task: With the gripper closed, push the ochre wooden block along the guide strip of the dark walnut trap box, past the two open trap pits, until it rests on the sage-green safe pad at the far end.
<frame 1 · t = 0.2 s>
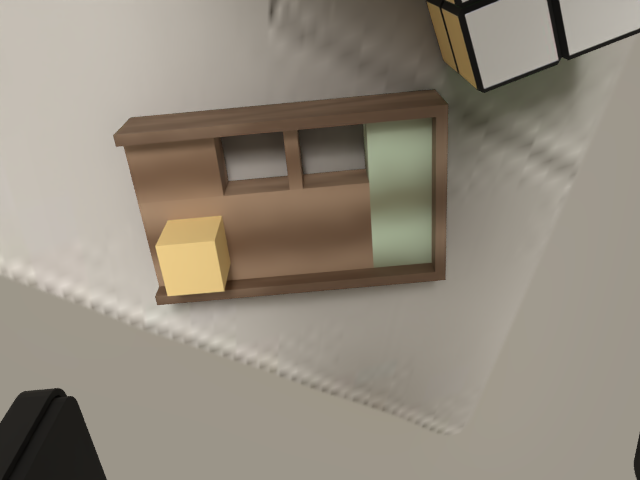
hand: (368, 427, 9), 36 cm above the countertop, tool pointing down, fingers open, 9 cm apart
block: (199, 242, 45), point 3 cm above the countertop, touching trap box
trap box: (292, 189, 47), on the countertop
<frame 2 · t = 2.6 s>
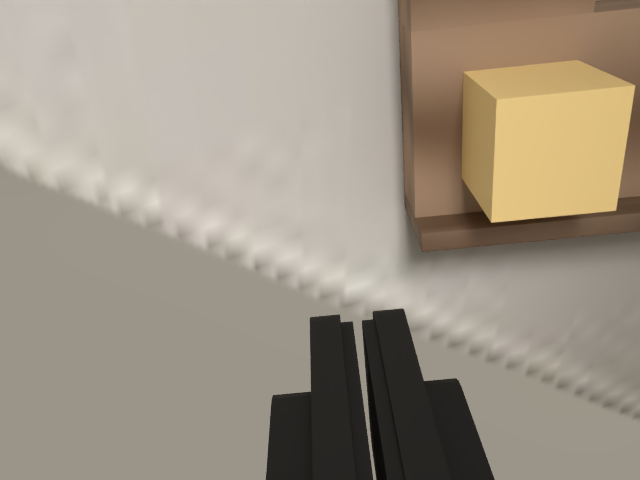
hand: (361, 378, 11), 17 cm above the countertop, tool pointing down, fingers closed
block: (516, 121, 22), point 3 cm above the countertop, touching trap box
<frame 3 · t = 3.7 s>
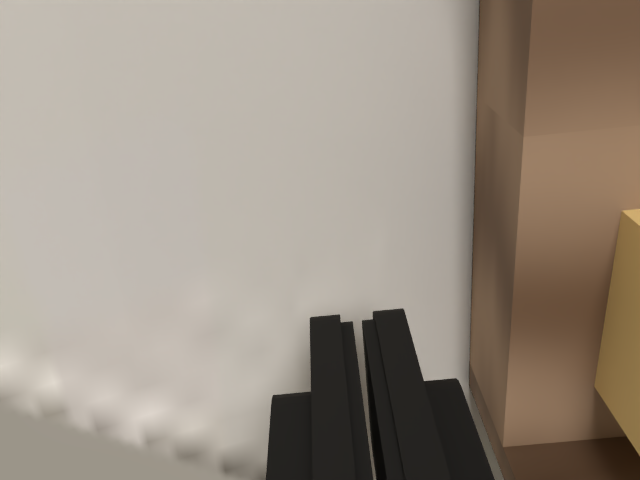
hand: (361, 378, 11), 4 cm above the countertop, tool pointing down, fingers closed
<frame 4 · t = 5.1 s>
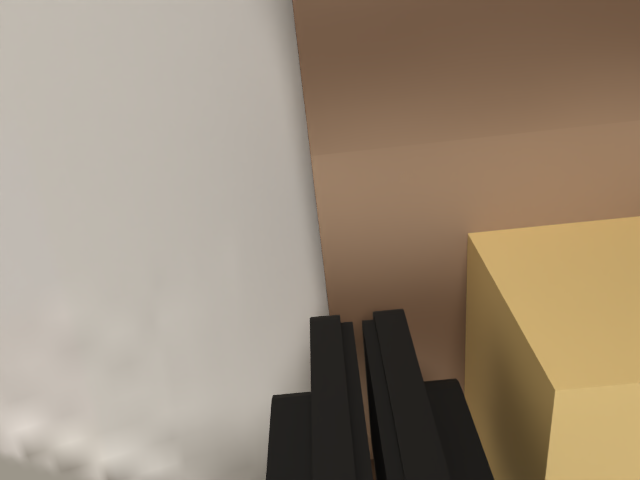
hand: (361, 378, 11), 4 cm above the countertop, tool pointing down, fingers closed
block: (570, 316, 12), point 3 cm above the countertop, touching gripper, trap box
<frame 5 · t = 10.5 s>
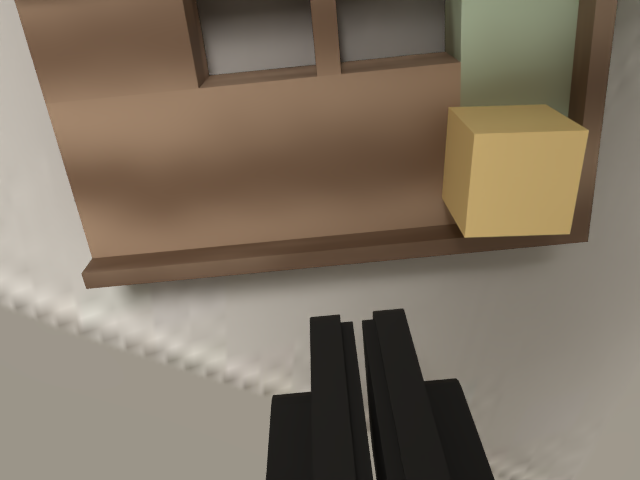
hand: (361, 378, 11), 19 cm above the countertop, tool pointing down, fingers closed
block: (492, 152, 26), point 3 cm above the countertop, touching trap box
trap box: (318, 90, 27), on the countertop
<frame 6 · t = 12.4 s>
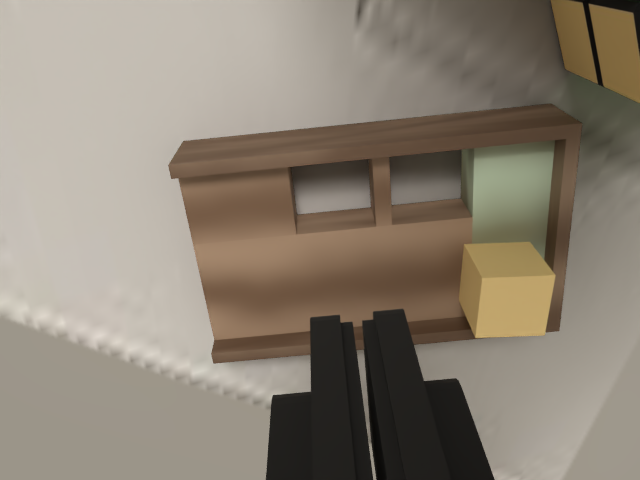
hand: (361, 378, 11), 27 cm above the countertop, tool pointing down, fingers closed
block: (493, 271, 38), point 3 cm above the countertop, touching trap box
trap box: (372, 223, 39), on the countertop
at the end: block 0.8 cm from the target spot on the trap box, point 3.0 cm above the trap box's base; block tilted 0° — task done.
